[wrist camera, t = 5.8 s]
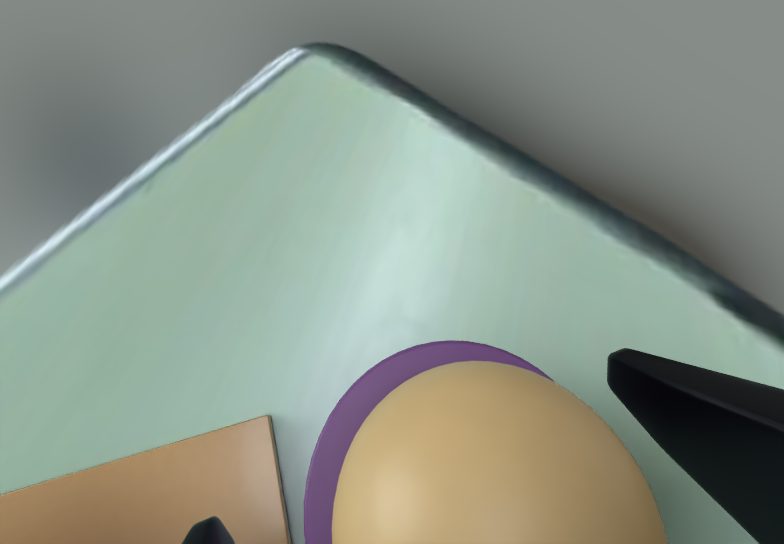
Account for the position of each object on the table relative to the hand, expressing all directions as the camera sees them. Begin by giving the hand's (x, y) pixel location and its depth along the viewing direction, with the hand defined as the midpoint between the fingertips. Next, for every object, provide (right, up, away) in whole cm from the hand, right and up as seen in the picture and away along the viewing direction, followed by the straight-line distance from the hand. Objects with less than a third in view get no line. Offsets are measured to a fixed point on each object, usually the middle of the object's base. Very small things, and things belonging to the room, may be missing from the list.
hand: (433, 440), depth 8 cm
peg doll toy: (0, -3, +6) cm, 7 cm away
